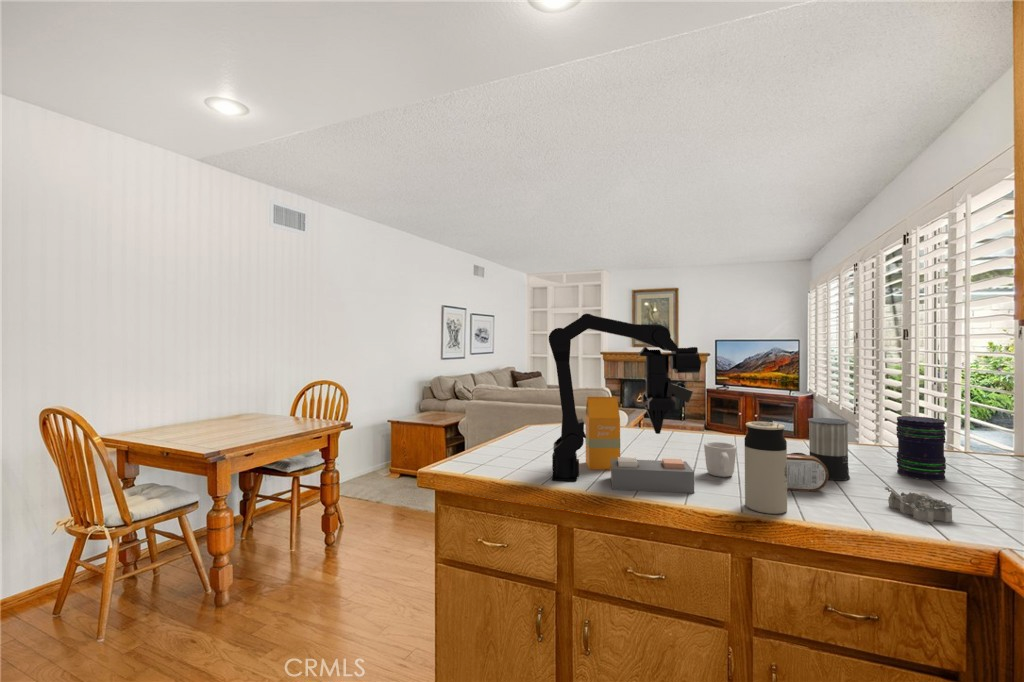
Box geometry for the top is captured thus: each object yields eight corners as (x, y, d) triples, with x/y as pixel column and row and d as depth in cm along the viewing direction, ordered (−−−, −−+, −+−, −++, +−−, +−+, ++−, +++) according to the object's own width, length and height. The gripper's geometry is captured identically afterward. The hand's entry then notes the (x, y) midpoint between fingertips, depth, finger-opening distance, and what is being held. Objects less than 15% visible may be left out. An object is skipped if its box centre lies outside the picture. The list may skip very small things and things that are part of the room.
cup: (743, 483, 119) (743, 451, 119) (709, 481, 120) (709, 450, 120) (732, 471, 129) (732, 442, 129) (701, 470, 131) (701, 441, 131)
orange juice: (620, 469, 132) (620, 398, 132) (589, 469, 132) (588, 398, 132) (615, 462, 140) (614, 395, 140) (585, 462, 140) (584, 395, 140)
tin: (825, 489, 113) (824, 454, 113) (830, 493, 110) (830, 457, 110) (756, 485, 117) (756, 451, 117) (760, 489, 114) (760, 454, 114)
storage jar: (904, 478, 122) (904, 420, 122) (890, 468, 131) (890, 415, 131) (953, 482, 118) (953, 423, 118) (936, 472, 127) (935, 417, 127)
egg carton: (882, 504, 103) (882, 486, 103) (919, 505, 103) (918, 487, 103) (919, 523, 93) (918, 502, 93) (960, 524, 92) (960, 503, 92)
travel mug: (740, 509, 100) (740, 424, 100) (750, 499, 106) (749, 420, 106) (783, 518, 95) (782, 429, 95) (790, 507, 101) (789, 423, 101)
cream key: (618, 477, 117) (618, 461, 117) (617, 472, 121) (617, 456, 121) (637, 478, 116) (637, 462, 116) (636, 473, 120) (636, 457, 120)
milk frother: (851, 483, 118) (850, 424, 118) (779, 474, 127) (778, 419, 127) (847, 470, 130) (846, 416, 130) (781, 462, 139) (781, 412, 139)
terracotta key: (664, 479, 115) (664, 463, 115) (662, 474, 119) (662, 458, 119) (684, 480, 114) (684, 463, 114) (681, 474, 118) (681, 459, 118)
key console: (612, 489, 114) (611, 468, 114) (610, 477, 124) (610, 458, 124) (694, 493, 111) (694, 472, 111) (686, 480, 121) (686, 461, 121)
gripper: (697, 376, 111) (698, 442, 111) (683, 371, 130) (683, 427, 130) (649, 375, 113) (649, 440, 113) (641, 371, 132) (642, 426, 132)
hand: (657, 433), depth 122 cm, fingers closed
